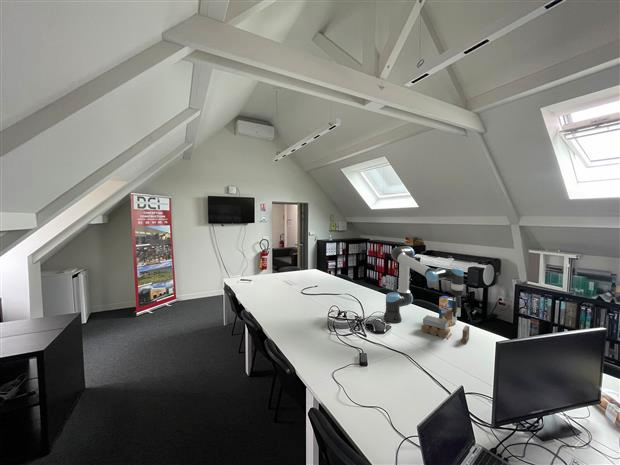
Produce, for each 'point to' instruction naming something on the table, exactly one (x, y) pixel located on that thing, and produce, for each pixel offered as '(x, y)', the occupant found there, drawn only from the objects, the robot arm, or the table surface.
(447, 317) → the roller
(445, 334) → the bed rollers
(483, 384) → the table surface
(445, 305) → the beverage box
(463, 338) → the cradle and stop
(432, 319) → the slab
